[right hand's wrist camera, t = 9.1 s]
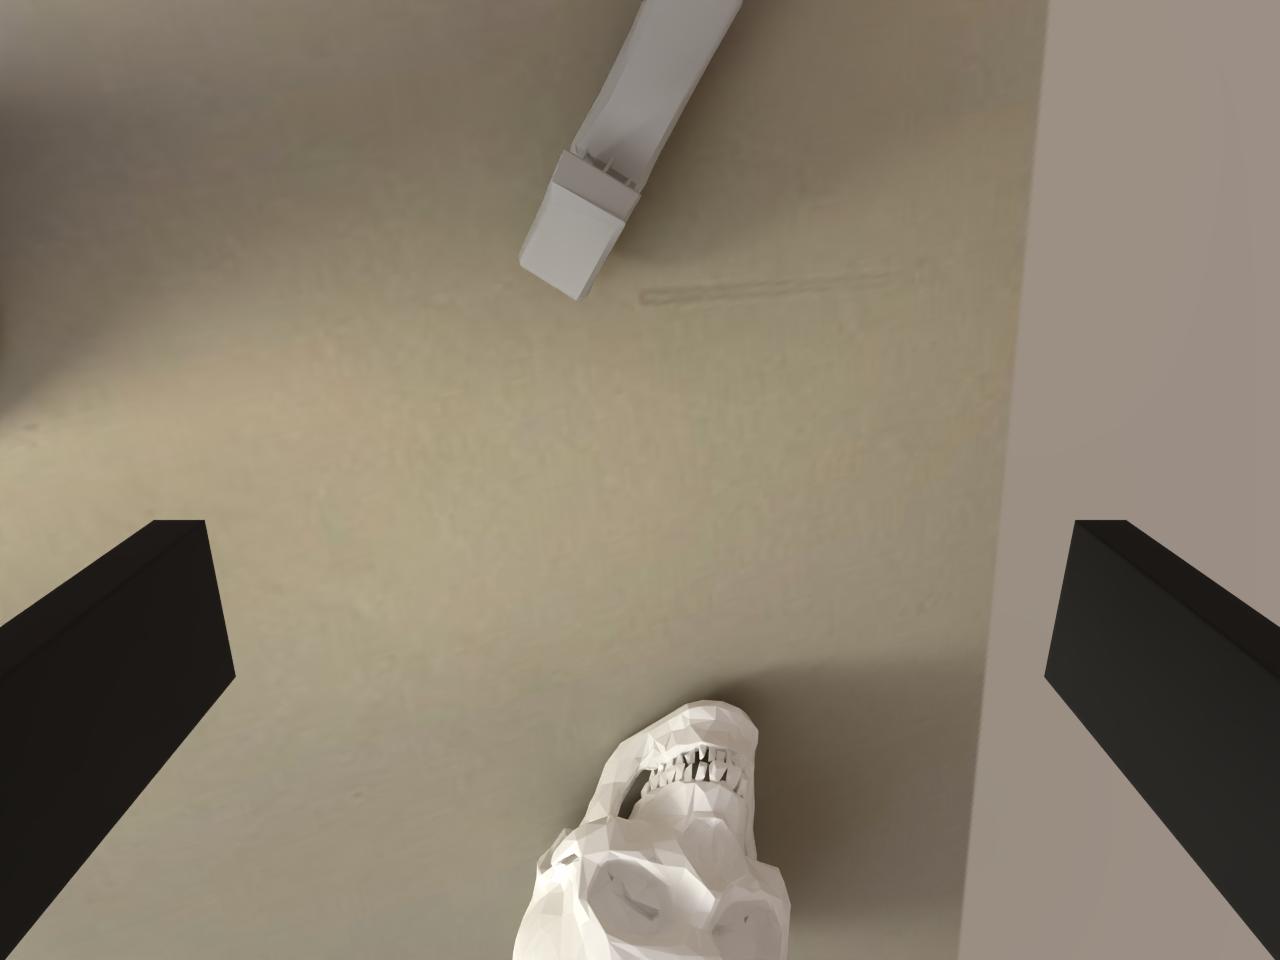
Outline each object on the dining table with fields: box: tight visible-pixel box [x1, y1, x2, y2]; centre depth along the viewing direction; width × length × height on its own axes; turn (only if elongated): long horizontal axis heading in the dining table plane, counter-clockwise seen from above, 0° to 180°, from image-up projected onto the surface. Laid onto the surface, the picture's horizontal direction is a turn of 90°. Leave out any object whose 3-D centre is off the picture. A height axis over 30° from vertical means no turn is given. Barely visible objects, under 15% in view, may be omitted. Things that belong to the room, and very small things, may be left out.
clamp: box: [518, 0, 743, 301], centre depth 34 cm, size 20×4×7 cm, turn 151°
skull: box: [513, 700, 791, 960], centre depth 44 cm, size 13×22×16 cm, turn 162°
